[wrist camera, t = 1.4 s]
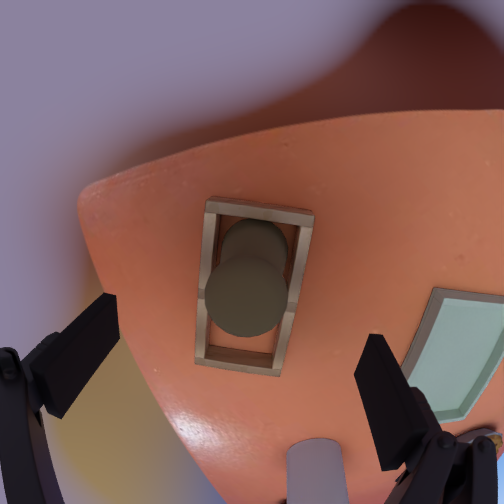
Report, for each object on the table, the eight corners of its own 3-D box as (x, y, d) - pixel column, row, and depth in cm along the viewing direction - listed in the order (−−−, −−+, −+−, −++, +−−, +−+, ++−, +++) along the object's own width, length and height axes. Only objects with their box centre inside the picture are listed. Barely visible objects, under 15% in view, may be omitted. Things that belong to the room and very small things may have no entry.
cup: (277, 461, 38) (276, 526, 26) (301, 434, 35) (305, 507, 24) (323, 467, 38) (329, 528, 27) (350, 442, 36) (363, 508, 24)
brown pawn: (226, 283, 29) (201, 353, 18) (217, 220, 27) (183, 264, 16) (290, 278, 28) (298, 349, 18) (285, 215, 26) (294, 256, 16)
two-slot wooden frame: (211, 195, 26) (205, 200, 24) (311, 210, 26) (315, 216, 24) (199, 350, 31) (194, 364, 29) (279, 362, 31) (279, 377, 29)
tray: (433, 287, 27) (444, 297, 25) (516, 297, 27) (527, 306, 25) (374, 416, 34) (378, 429, 31) (457, 409, 33) (463, 419, 31)
